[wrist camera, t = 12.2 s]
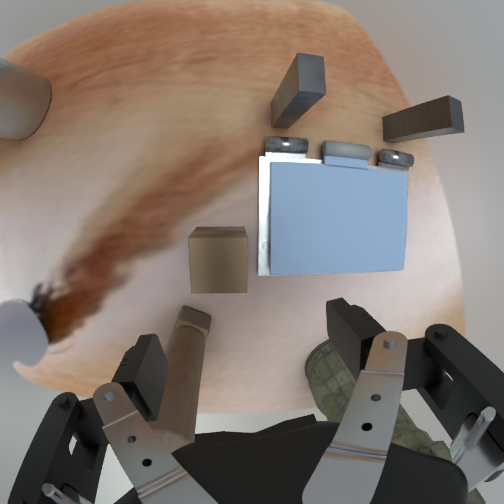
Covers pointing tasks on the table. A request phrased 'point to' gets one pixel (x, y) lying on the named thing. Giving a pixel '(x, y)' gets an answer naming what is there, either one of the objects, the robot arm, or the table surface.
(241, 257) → the block
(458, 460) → the robot arm
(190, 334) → the wooden block
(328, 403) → the thermos
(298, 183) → the pale blue flat slab
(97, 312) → the table surface
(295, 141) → the base leaf
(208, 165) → the table surface
